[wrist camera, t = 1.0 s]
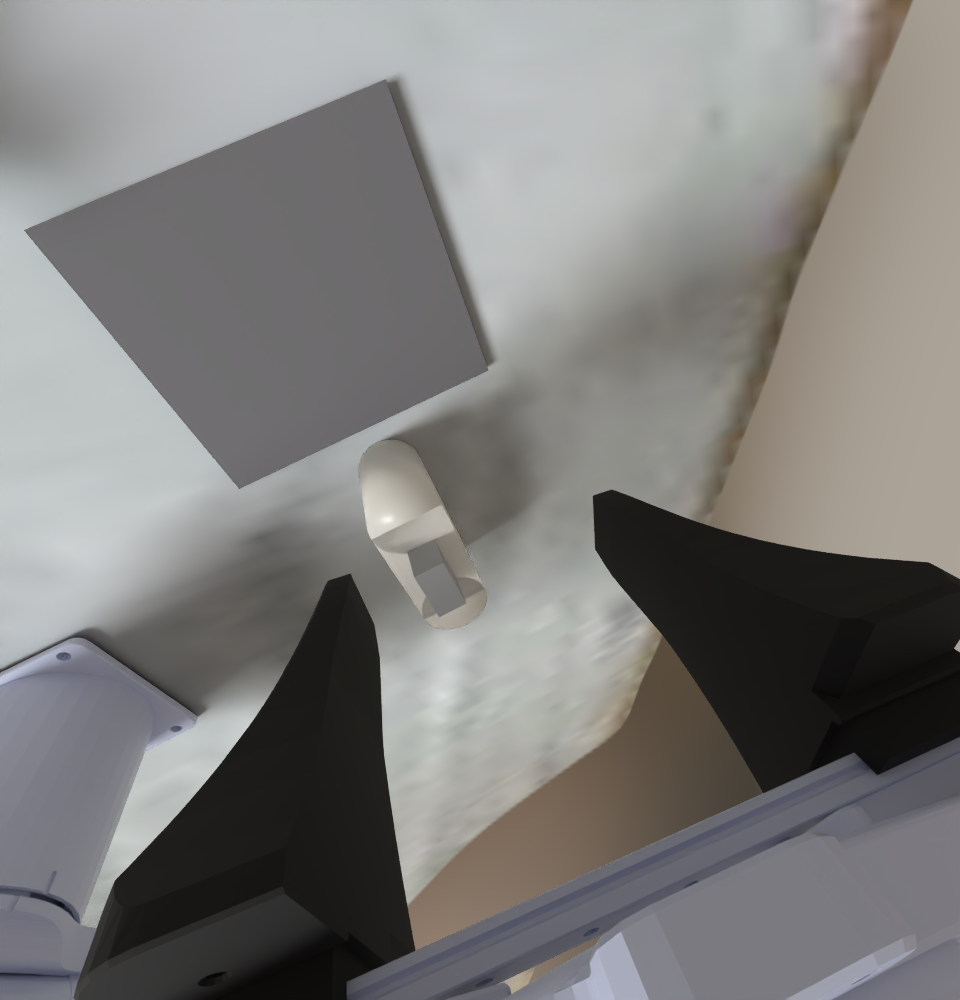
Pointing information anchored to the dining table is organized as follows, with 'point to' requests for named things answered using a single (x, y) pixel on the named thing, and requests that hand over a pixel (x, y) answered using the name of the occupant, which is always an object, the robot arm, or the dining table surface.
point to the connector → (418, 536)
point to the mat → (278, 284)
